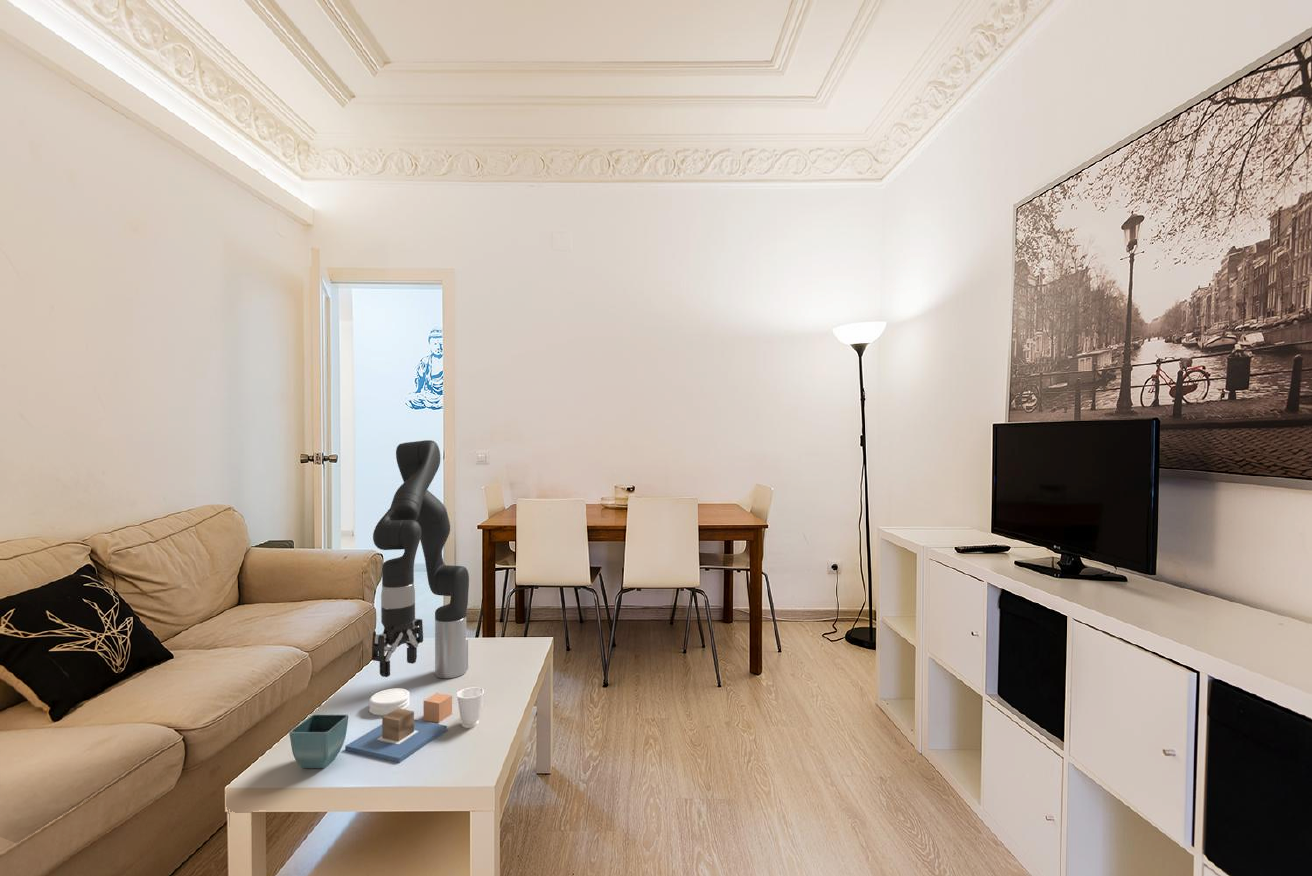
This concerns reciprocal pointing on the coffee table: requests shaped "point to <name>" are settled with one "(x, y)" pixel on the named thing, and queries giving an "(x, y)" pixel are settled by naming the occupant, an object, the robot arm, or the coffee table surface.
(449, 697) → the terracotta block
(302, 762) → the flower pot
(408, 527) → the robot arm
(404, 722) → the walnut block
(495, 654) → the coffee table surface
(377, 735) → the board
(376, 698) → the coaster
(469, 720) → the cup
